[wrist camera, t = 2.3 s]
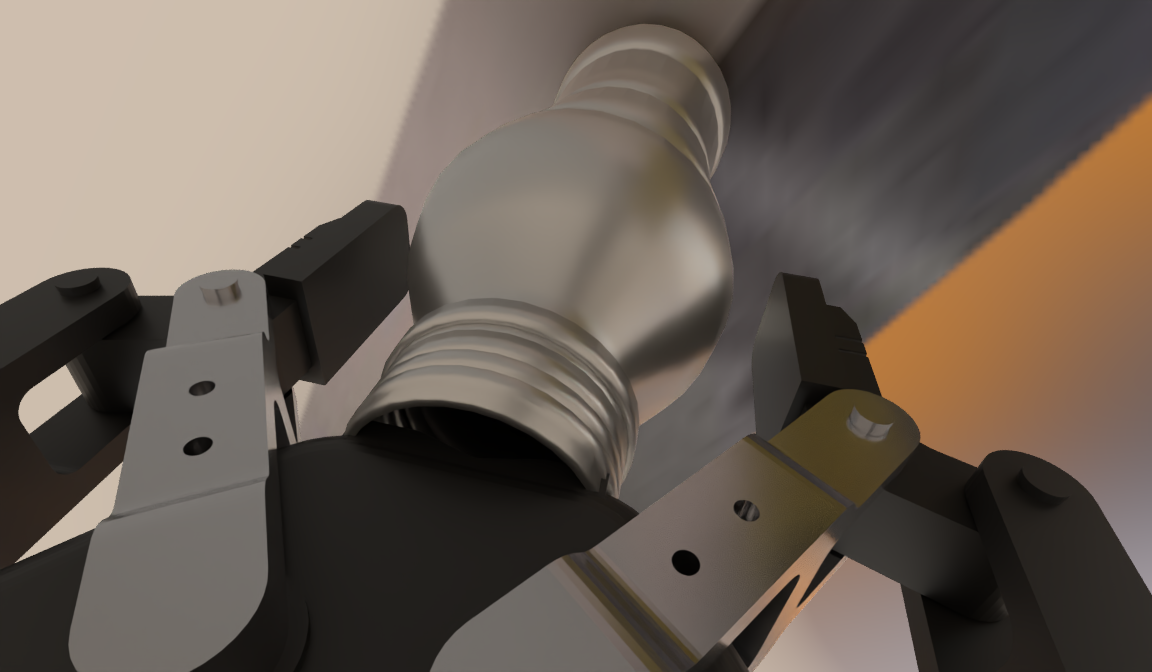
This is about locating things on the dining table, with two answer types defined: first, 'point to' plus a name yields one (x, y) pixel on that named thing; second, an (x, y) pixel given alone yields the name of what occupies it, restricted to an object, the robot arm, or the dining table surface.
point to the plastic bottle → (571, 266)
